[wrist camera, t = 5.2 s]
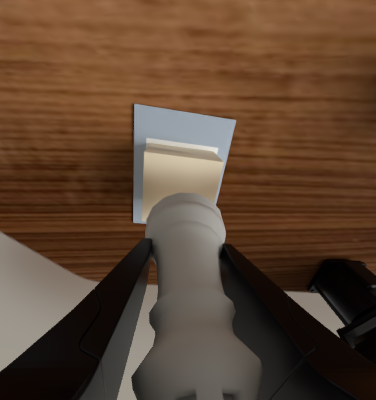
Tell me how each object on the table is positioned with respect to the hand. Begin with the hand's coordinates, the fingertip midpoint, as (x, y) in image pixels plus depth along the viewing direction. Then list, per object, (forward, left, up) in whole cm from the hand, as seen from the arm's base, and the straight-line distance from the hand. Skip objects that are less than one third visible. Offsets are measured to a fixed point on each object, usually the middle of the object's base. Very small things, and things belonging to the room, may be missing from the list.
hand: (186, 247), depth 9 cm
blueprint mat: (0, 0, -11) cm, 11 cm away
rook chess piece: (0, 0, -2) cm, 2 cm away
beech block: (0, 0, -10) cm, 10 cm away
